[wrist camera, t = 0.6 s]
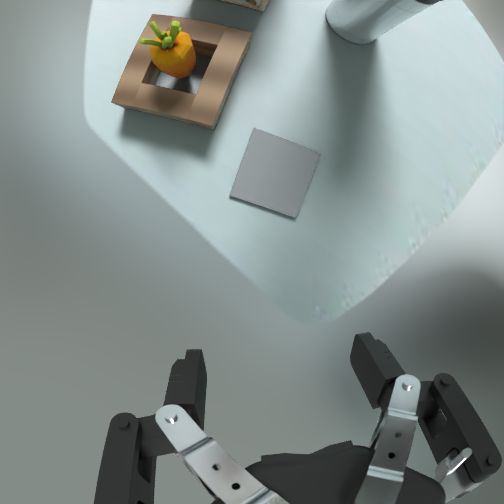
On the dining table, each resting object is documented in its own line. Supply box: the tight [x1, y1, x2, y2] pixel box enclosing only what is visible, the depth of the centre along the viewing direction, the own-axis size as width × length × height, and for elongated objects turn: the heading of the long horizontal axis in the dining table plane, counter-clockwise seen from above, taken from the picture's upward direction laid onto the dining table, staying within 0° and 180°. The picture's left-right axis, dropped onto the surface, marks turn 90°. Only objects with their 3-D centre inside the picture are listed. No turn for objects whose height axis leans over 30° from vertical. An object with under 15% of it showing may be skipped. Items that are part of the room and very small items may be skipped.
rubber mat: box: [230, 128, 320, 218], centre depth 36 cm, size 10×10×1 cm
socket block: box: [111, 14, 252, 130], centre depth 28 cm, size 14×14×5 cm
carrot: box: [140, 21, 196, 79], centre depth 24 cm, size 5×5×15 cm
